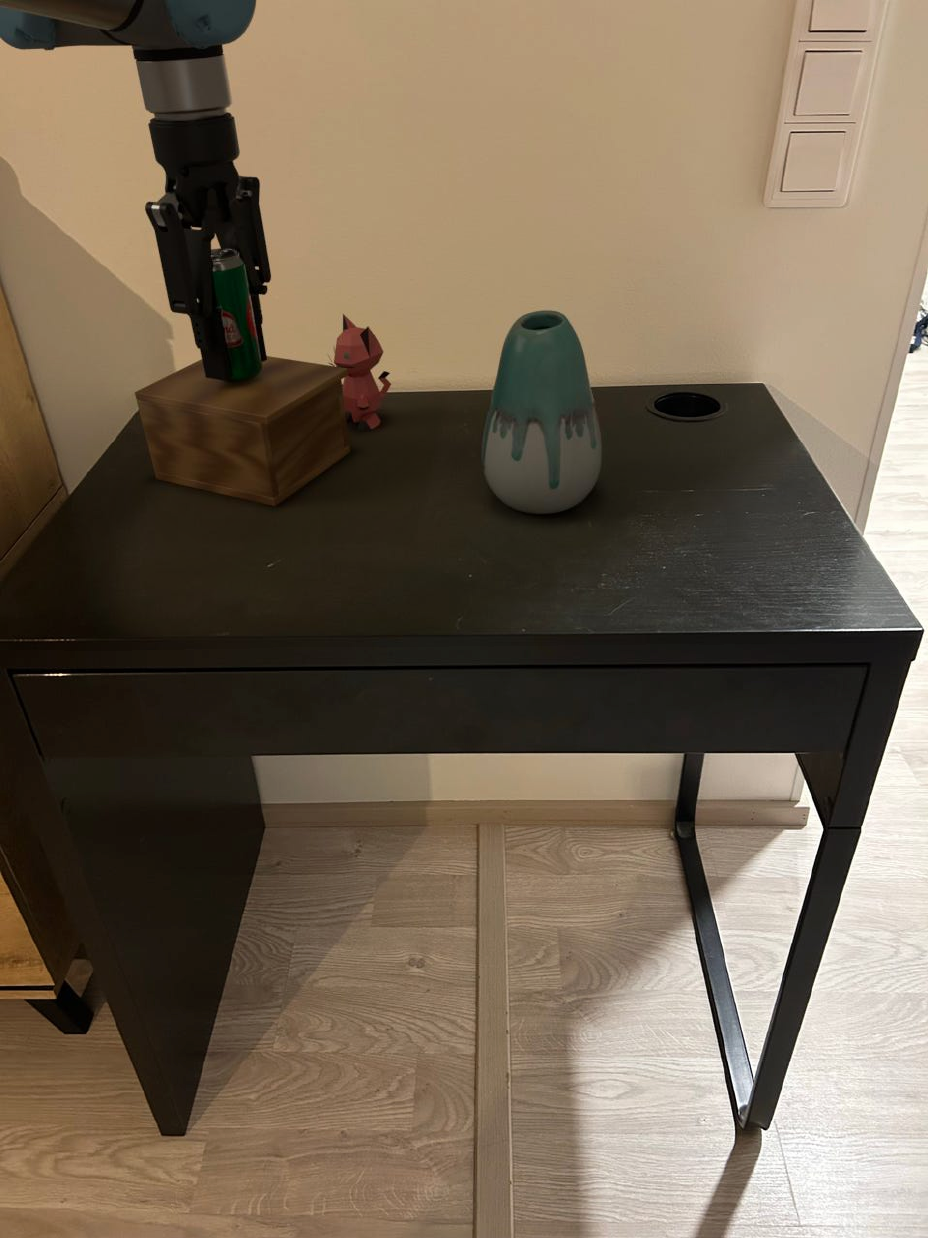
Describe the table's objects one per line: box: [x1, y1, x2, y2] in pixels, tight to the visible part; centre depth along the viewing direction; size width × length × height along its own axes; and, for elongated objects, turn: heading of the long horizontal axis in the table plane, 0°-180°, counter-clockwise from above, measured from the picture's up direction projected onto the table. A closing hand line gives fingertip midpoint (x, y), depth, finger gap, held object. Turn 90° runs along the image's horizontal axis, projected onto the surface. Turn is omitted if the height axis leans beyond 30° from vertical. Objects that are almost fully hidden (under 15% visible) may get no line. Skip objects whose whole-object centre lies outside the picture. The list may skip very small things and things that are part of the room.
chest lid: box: [134, 355, 348, 424], centre depth 98 cm, size 17×14×1 cm
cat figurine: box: [327, 313, 392, 432], centre depth 109 cm, size 7×7×12 cm
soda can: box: [197, 248, 262, 382], centre depth 95 cm, size 5×5×12 cm
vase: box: [481, 309, 603, 515], centre depth 89 cm, size 12×12×18 cm
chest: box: [136, 379, 351, 507], centre depth 101 cm, size 16×14×9 cm
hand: (237, 367), depth 98 cm, fingers closed on soda can, 5 cm apart
